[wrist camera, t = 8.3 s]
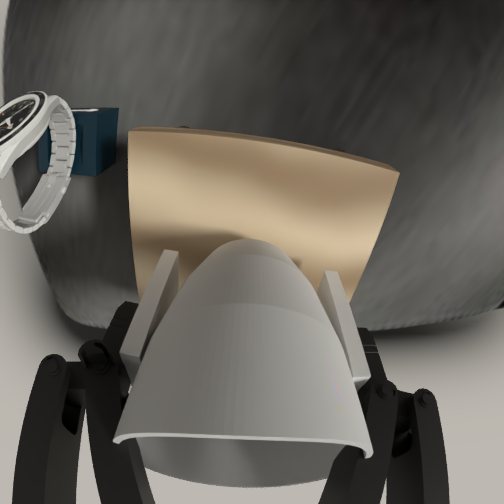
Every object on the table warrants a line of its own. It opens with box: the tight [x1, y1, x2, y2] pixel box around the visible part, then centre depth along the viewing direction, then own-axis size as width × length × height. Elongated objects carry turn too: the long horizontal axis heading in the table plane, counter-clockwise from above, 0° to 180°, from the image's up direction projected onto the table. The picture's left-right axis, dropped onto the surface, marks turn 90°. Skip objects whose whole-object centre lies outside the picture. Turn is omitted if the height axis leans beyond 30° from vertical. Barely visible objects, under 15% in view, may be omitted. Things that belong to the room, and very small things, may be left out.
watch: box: [0, 91, 119, 234], centre depth 13 cm, size 6×8×11 cm
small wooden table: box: [128, 126, 400, 303], centre depth 19 cm, size 14×14×6 cm
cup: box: [113, 239, 373, 488], centre depth 11 cm, size 8×8×10 cm
